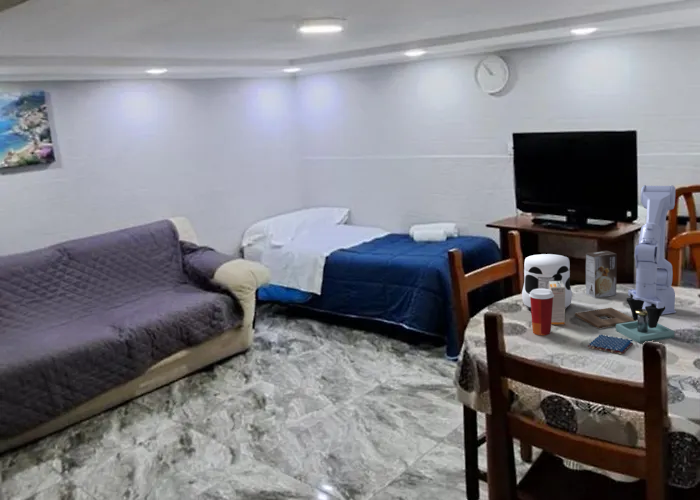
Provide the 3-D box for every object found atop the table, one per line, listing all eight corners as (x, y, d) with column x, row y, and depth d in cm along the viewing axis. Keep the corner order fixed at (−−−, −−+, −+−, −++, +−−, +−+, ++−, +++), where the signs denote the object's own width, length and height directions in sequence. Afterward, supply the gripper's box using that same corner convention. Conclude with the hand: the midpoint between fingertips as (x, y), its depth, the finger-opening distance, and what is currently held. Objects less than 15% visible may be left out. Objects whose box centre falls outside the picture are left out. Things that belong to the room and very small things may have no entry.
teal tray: (648, 325, 212) (648, 318, 211) (674, 337, 200) (674, 331, 200) (615, 330, 210) (615, 324, 209) (639, 343, 198) (639, 336, 198)
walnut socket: (611, 310, 228) (611, 307, 228) (636, 322, 215) (636, 319, 215) (574, 315, 225) (574, 312, 225) (598, 328, 212) (598, 325, 212)
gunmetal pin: (644, 327, 208) (645, 308, 207) (653, 332, 204) (653, 312, 202) (631, 329, 207) (632, 309, 206) (640, 334, 203) (641, 314, 202)
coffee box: (606, 290, 250) (607, 250, 246) (616, 295, 244) (617, 253, 240) (584, 293, 248) (585, 252, 244) (594, 298, 242) (595, 256, 238)
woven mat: (598, 339, 205) (598, 333, 205) (633, 345, 198) (634, 339, 198) (586, 350, 197) (586, 343, 197) (622, 357, 191) (622, 350, 190)
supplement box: (565, 324, 218) (565, 287, 215) (550, 324, 219) (550, 287, 216) (562, 316, 225) (562, 280, 222) (548, 316, 226) (548, 280, 223)
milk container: (551, 297, 247) (551, 251, 243) (582, 309, 231) (583, 260, 227) (512, 304, 241) (511, 257, 237) (541, 318, 225) (541, 268, 221)
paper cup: (554, 328, 215) (554, 288, 211) (553, 337, 208) (553, 295, 204) (529, 327, 217) (529, 287, 214) (528, 336, 210) (527, 294, 207)
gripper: (620, 277, 207) (619, 318, 210) (650, 289, 193) (648, 332, 196) (639, 274, 209) (638, 315, 212) (670, 286, 195) (669, 329, 198)
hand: (644, 323), depth 204 cm, fingers open, 7 cm apart
